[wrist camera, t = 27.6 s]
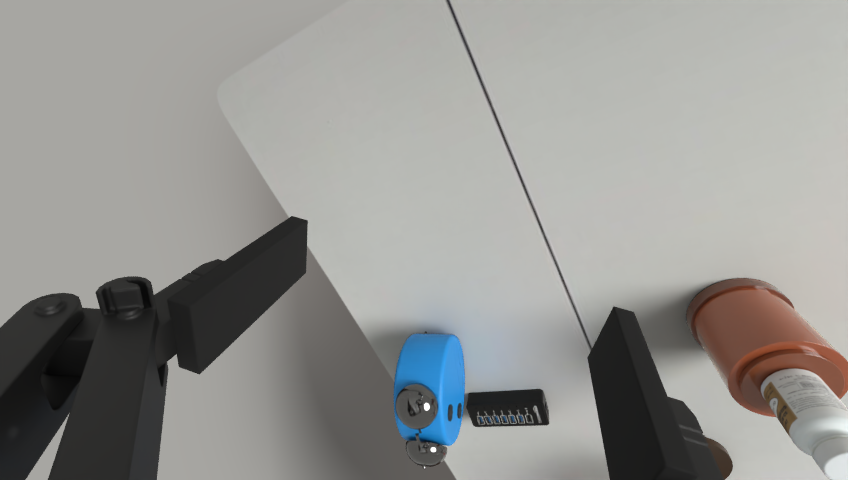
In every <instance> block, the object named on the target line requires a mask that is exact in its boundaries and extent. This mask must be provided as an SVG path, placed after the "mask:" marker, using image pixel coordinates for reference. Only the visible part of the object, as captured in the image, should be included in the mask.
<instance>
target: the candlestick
mask: <svg viewBox="0 0 848 480" xmlns="http://www.w3.org/2000/svg"><path fill="white" fill-rule="evenodd" d="M705 438H706V437H705ZM706 441H707V443H708V448H710V449H711V452H712V454H713V456H714V458H715V460H716V463H717V465H718V467H719V469H720V471H721V474H722V476H723V478H724V480H725V479H726V478H727V477H728V476H729V475H730V473H731V471H732V467H733V464H732V460H731V458H730V456H729V454H728V452H727V450H726V449H725V448H724V447H723V446H722V445H720V444H719V443H718V442H716V441H714V440H712V439H709V438H706Z"/></svg>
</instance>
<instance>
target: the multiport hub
mask: <svg viewBox="0 0 848 480" xmlns="http://www.w3.org/2000/svg"><path fill="white" fill-rule="evenodd" d="M466 407H467V410H468V413H469V415H470V418H471V421H472V423H473V425H474V426H475V427H492V426H535V425H548V424H549V410H548V406H547V403H546V399H545V396H544V392H543V390H541V389H536V390H518V391H499V392H481V393H469V395H468V400H467V406H466Z"/></svg>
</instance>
